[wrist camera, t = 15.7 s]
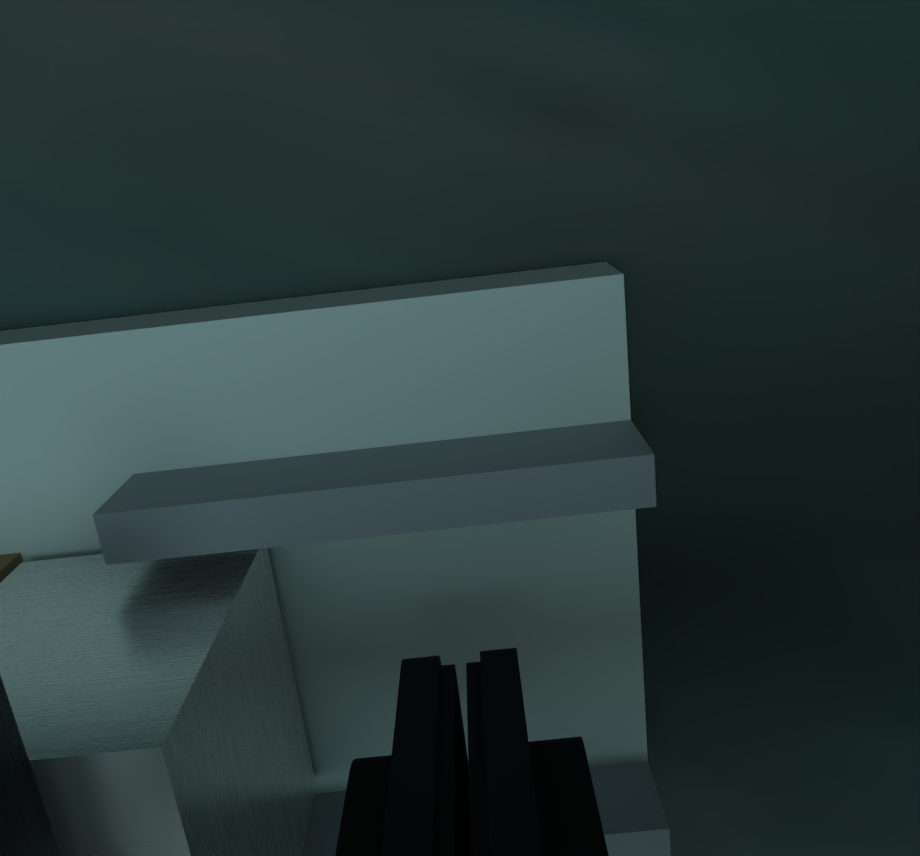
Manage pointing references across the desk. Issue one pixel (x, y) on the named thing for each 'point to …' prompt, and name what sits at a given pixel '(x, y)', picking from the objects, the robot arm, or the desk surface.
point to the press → (372, 495)
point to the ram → (149, 710)
